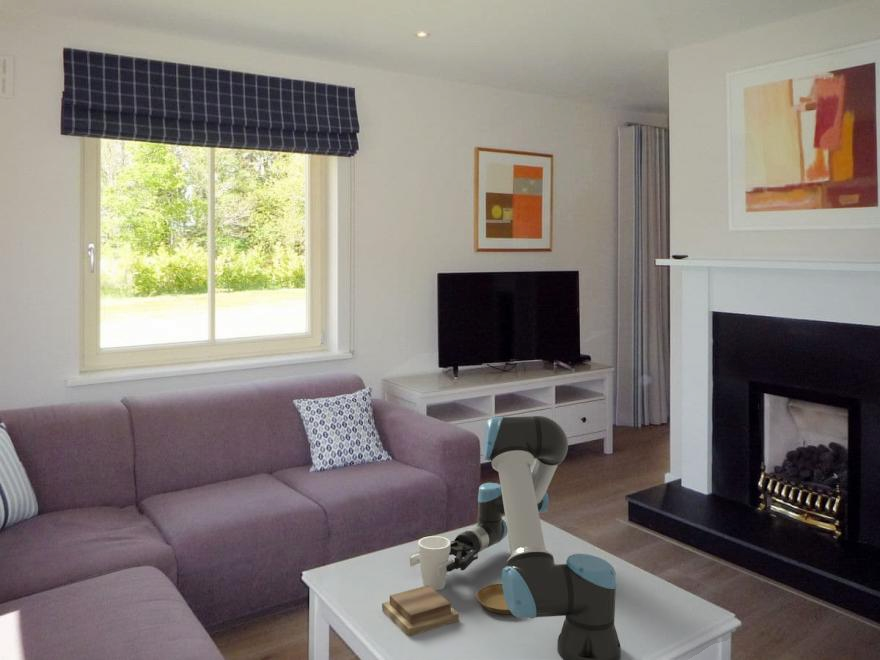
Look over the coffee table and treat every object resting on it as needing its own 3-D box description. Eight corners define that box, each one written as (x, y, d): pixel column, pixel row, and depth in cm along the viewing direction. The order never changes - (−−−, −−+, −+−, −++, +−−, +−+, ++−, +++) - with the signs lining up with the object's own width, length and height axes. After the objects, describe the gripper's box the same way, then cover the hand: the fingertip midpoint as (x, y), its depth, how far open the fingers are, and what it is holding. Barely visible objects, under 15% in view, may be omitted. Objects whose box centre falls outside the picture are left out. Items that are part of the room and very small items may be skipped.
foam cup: (413, 590, 208) (413, 546, 207) (423, 576, 217) (423, 534, 215) (445, 595, 205) (445, 551, 204) (454, 580, 214) (454, 538, 213)
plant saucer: (532, 618, 193) (533, 609, 193) (477, 618, 193) (477, 608, 193) (527, 592, 208) (527, 583, 207) (475, 591, 208) (475, 583, 208)
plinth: (458, 620, 191) (458, 604, 191) (408, 636, 184) (408, 619, 183) (430, 596, 204) (430, 581, 204) (382, 610, 196) (382, 594, 196)
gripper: (500, 563, 218) (454, 591, 200) (443, 544, 231) (395, 568, 214) (501, 539, 217) (455, 565, 199) (443, 521, 231) (395, 543, 213)
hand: (424, 566), depth 207 cm, fingers closed on foam cup, 9 cm apart
